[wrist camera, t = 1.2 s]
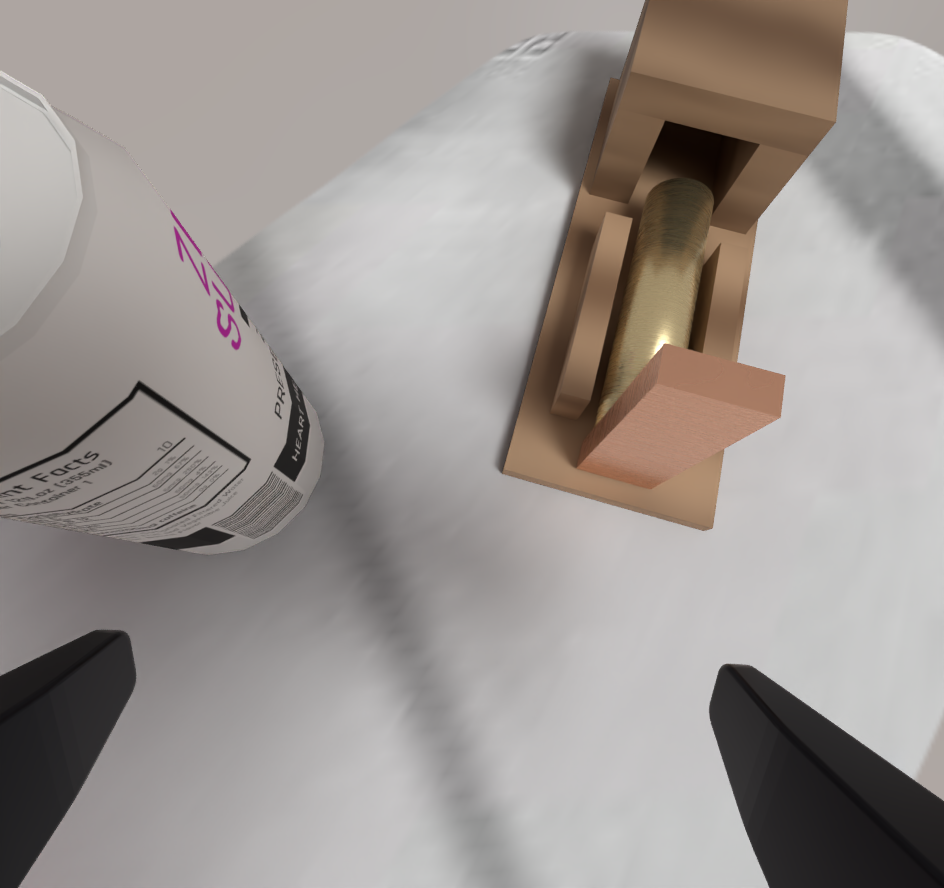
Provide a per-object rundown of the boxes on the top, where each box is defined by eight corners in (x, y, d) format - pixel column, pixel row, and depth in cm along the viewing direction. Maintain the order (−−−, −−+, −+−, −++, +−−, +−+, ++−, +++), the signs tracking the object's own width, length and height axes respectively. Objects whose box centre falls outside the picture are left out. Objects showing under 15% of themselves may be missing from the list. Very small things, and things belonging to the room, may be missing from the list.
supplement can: (95, 511, 22) (-594, 341, 7) (198, 346, 24) (-175, -28, 10) (270, 587, 21) (-110, 562, 7) (359, 411, 24) (214, 114, 9)
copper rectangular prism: (650, 489, 22) (780, 417, 13) (575, 468, 22) (656, 383, 13) (697, 234, 26) (823, 48, 17) (634, 218, 26) (725, 25, 17)
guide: (703, 530, 23) (814, 500, 16) (502, 473, 23) (523, 419, 16) (764, 130, 29) (861, -16, 22) (606, 91, 29) (654, -65, 23)
